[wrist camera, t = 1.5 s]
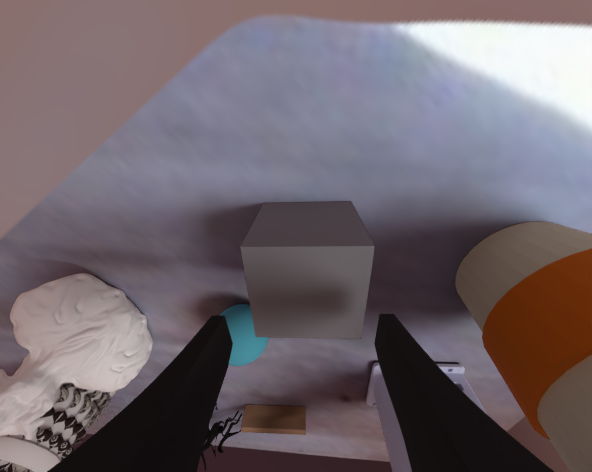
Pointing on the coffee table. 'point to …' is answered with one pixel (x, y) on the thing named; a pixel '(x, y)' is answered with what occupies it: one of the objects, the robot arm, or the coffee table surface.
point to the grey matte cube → (308, 270)
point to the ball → (243, 335)
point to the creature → (214, 433)
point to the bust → (70, 347)
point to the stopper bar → (274, 419)
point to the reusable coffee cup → (538, 326)
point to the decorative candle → (54, 431)
